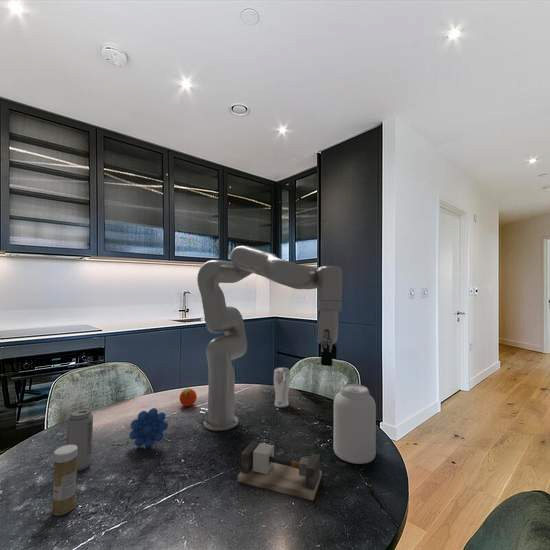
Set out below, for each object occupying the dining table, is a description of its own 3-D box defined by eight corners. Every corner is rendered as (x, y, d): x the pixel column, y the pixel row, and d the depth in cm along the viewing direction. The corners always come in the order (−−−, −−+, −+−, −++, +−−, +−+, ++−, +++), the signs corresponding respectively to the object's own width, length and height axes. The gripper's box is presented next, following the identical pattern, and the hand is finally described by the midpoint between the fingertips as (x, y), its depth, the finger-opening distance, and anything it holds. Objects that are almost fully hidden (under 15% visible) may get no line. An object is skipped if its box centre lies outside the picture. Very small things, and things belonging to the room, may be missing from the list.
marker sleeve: (252, 470, 82) (253, 451, 82) (260, 460, 87) (260, 442, 87) (267, 474, 81) (267, 454, 81) (273, 463, 86) (273, 445, 86)
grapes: (171, 440, 102) (171, 402, 102) (165, 451, 95) (165, 411, 96) (134, 440, 101) (135, 403, 102) (126, 451, 95) (127, 411, 95)
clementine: (193, 410, 126) (193, 392, 126) (176, 410, 126) (176, 392, 126) (198, 402, 134) (198, 386, 134) (182, 402, 134) (182, 385, 134)
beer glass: (288, 408, 129) (288, 372, 129) (271, 407, 130) (272, 370, 131) (290, 402, 135) (291, 367, 136) (275, 401, 137) (275, 366, 137)
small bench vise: (237, 481, 81) (238, 456, 81) (253, 461, 90) (253, 438, 91) (313, 500, 74) (313, 472, 74) (321, 476, 83) (321, 451, 84)
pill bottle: (48, 510, 70) (50, 449, 70) (72, 499, 74) (73, 441, 74) (55, 520, 67) (57, 456, 68) (78, 508, 71) (80, 448, 71)
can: (369, 470, 87) (369, 397, 87) (327, 456, 93) (327, 389, 94) (380, 450, 97) (380, 385, 98) (341, 439, 104) (342, 378, 104)
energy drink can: (68, 463, 88) (70, 409, 89) (93, 458, 91) (94, 406, 91) (63, 475, 83) (65, 418, 83) (90, 470, 85) (91, 414, 86)
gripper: (322, 304, 106) (321, 354, 105) (311, 307, 90) (311, 367, 89) (344, 304, 104) (344, 356, 103) (338, 308, 87) (338, 370, 87)
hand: (329, 361), depth 96 cm, fingers open, 9 cm apart
